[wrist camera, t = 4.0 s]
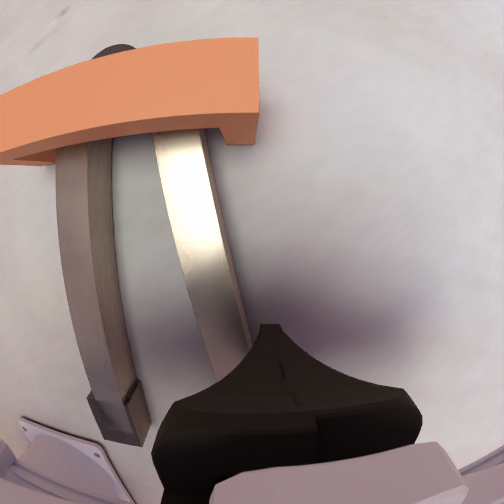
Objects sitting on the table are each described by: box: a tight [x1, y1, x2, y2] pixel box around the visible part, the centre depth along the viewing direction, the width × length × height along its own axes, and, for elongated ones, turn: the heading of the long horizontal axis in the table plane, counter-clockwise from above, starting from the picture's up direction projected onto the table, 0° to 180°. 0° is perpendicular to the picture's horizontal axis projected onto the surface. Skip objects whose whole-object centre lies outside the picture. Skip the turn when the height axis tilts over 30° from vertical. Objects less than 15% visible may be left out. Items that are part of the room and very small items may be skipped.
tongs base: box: [56, 44, 151, 447], centre depth 10 cm, size 17×4×3 cm, turn 0°
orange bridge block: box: [0, 38, 259, 166], centre depth 8 cm, size 2×10×4 cm, turn 90°
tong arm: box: [152, 128, 253, 382], centre depth 11 cm, size 14×2×2 cm, turn 12°
